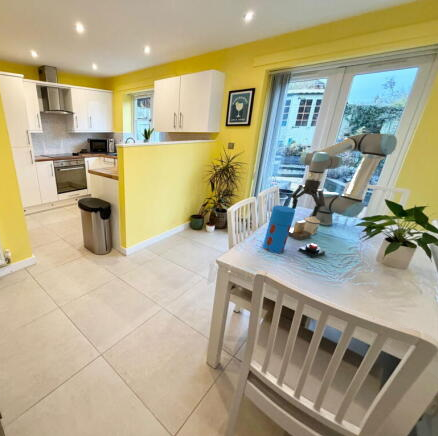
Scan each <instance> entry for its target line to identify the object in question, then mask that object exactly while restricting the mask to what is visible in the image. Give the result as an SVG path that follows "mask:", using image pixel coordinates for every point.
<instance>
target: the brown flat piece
mask: <svg viewBox="0 0 438 436" xmlns="http://www.w3.org/2000/svg"><path fill="white" fill-rule="evenodd" d="M293 230H294V227H290V231H289V234H288V237H290V238H292V239H294V240H297V241H300V240H304V239H305V240H306V239H311V236H312V235H311V234H312V233H309V232H307V231H305V230H303V231H302V232H296V233H295V232H293Z"/></svg>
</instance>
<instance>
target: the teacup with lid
mask: <svg viewBox="0 0 438 436" xmlns="http://www.w3.org/2000/svg"><path fill="white" fill-rule="evenodd" d="M308 217H309V216H308ZM308 217H304V218H303V221H306V224H305V227H304V230H305V231H307V232H309V233H312V234H311V236H313V235H314V236H315V235H316V234H317V233H318V229H319V226H320V225H319V224H320V221H319V220H317V219H316V218H315V217H309V218H308Z"/></svg>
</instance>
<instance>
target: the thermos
mask: <svg viewBox="0 0 438 436" xmlns="http://www.w3.org/2000/svg"><path fill="white" fill-rule="evenodd" d="M295 213H296V209H293V208H292V207H290V206H286V205H280V204H279V205H277V204H276V205H273V207H272V209H271V213H270V217H269V222H268V225H267V229H266V233H265V237H264V240H263V246H262V247H263V248H264V250H266V251H268V252H271V253H276V254H281V253H283V252H284V249H285V247H286V244H287V240H288V237H289V236H288V234H289V231H290V229H291V228H292V224H293V220H294V217H295Z"/></svg>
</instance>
